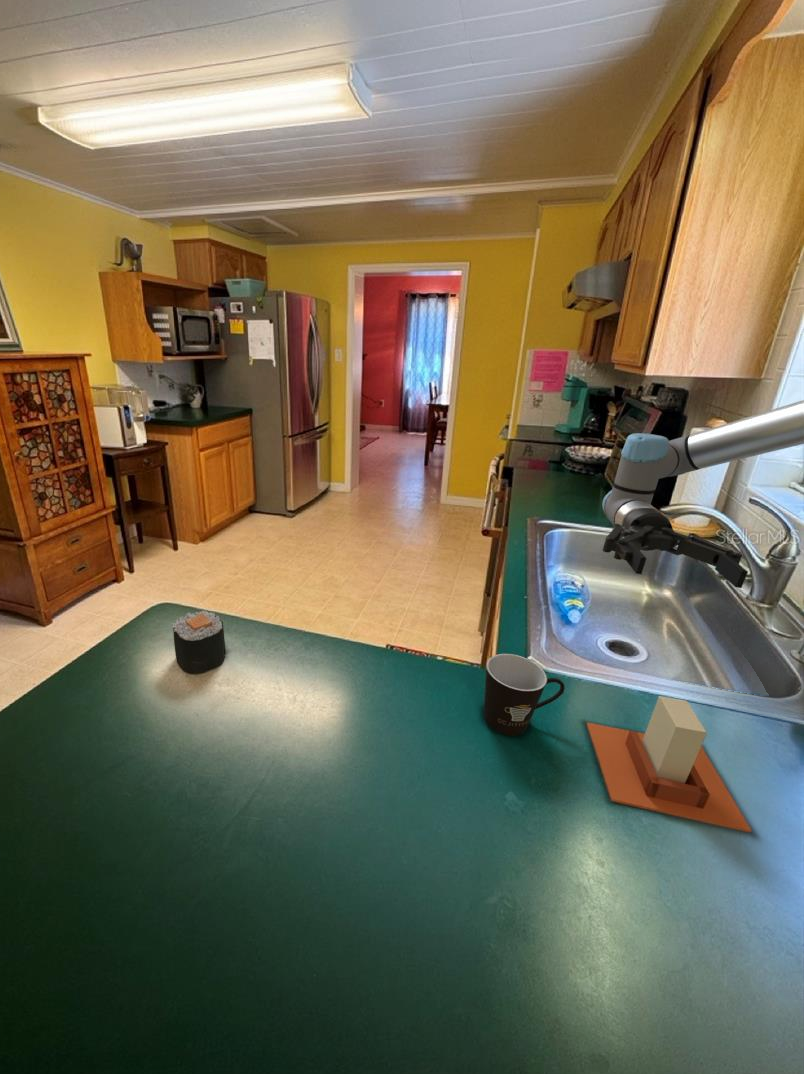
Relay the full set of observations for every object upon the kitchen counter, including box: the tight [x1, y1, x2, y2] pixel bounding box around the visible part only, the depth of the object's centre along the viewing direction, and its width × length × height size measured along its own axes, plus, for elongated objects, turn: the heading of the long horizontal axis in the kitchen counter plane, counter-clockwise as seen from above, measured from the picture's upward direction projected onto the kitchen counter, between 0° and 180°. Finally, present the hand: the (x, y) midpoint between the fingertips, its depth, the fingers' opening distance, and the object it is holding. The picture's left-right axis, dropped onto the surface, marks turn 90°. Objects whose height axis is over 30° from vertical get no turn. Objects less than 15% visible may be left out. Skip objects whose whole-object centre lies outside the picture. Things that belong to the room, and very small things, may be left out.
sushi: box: [171, 610, 227, 675], centre depth 82 cm, size 8×8×8 cm
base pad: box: [586, 722, 752, 833], centre depth 65 cm, size 16×14×4 cm
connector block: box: [642, 695, 708, 784], centre depth 64 cm, size 4×6×10 cm, turn 167°
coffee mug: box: [483, 653, 565, 737], centre depth 71 cm, size 12×9×10 cm
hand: (690, 572), depth 70 cm, fingers open, 13 cm apart
